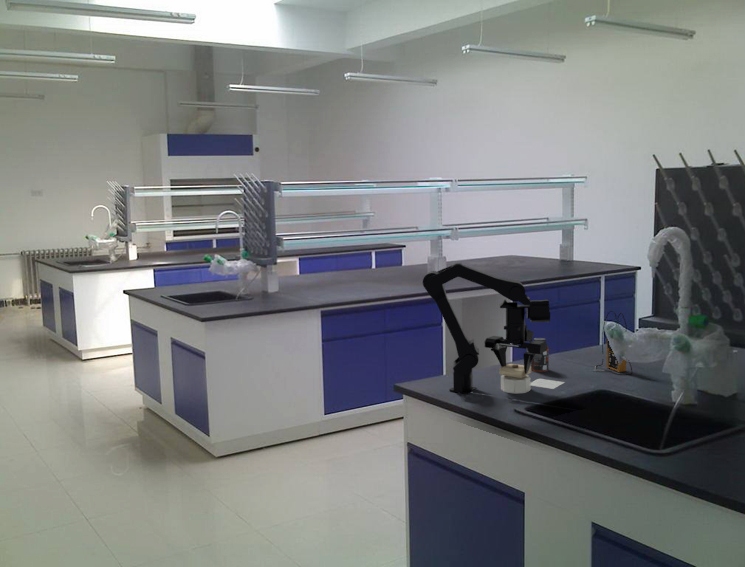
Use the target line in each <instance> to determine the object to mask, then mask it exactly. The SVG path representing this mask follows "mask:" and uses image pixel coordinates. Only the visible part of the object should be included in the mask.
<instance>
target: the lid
mask: <svg viewBox="0 0 745 567" xmlns="http://www.w3.org/2000/svg"><path fill="white" fill-rule="evenodd" d="M498 371H499V372H498V374H499V375H500V376H502V375H505V376H512V377H519V378H521V377H523V376H525V375H529V374H531V373H532V371H531V365H530V368H529V370H528V373H527V374H525V370H524V364H516V363H509V364H506V366H504V367H499V370H498Z"/></svg>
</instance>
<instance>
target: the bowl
mask: <svg viewBox="0 0 745 567" xmlns="http://www.w3.org/2000/svg"><path fill="white" fill-rule="evenodd" d="M530 383H531V376H530V375H529V374H527V375H525V376H523V377H521V378H519V377H512V376H505V375H500V390H501V391H503V393H508V394H526V393H528V392H529V391H531V386H530Z"/></svg>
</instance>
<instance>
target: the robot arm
mask: <svg viewBox="0 0 745 567" xmlns="http://www.w3.org/2000/svg"><path fill="white" fill-rule="evenodd" d="M456 278H461V279H463V280H467V281H468V282H472V283H475V284H477V285H480V286H482V287H486V288H488V289H490V290H493V291H495V292H496V293H498V294H500V295H501V296H502V297H505V298H506V299H503V301H501V303H500V304H499V308H500V309H505V325H504V326H503V330H505V338H504V336H500V335H499V336H498V335H491V336H489V337H486V338H485V339H484V342H483V343H484V345H483V346H484V348H487V349H488V348H489V349H490V351H491V352H493V354H494V355H495V356H496V358H497V360H498V362H499V364H500V366H501V367H504V366H506V365H507V350H508V348H516V349H522V350H523V349H524V350H526V352H523V365H524V370H525V374H527V373H528V370H529V368H530V366H531V362H532V360H533V358H534V356H535V355H536V354H541V353H543V352H545V351H547V346H548V343H547V342H544V341H534V331H532V330H530V329H528V325H527V324H526V321H525V319H527V320H529V321H530V323H550V322H551V310H550V301H549V299H542V300H541V299H540V300H539V299H538V300H537V299H535V300H534V299H533V300H531V298H530V297H529V296H528V295H527V294H526V289H525V286H524V285H523V283H522V282H521V281H519V280H515V279H509V278H505V277H504V278H503V277H497V276H494V275H492V274H488V273H487V272H483V271H481V270H478V269H475V268H473V267H469V266H467V265H465V264H462V263H461V262H455V263H454V264H451V265H449V266H447V267H444V268H442V269H440V270H438V271H437V270H429V271H428V272H426V274H425V275H424V277H423V278H422V285H423V289H425V290H426V292H427V294H428V295H429V296H430V298H431V299H433V301H434V302H435V303H436V306H437V308H438V310H439V312H440V314H441V316H442V318H443V320H444V323H445V325H446V326H447V328H448V331H449V332H450V335H451V337H452V339H453V341H454V343H455V347H456V351H457V352H456V353H457V356H458V357H457V358H456V359H455V360H454V361H453V363H452V364H453V365H452V369H453V372H452V374H453V377H452V378H453V380H452V382H453V383H452V384H453V386H452V387H451V388H449V391H450V392H455V393H459V392H460V394H466V395H467V394H470V393H472V391H474V390H477V387H476V386H474V384H473V383H474V382H473V377H474V376H473V369H474V368H475V367H477V365H478V364H479V355H480V349H479V348H478V347H477V345H476V341H475V339H474V338H471V340H470V339H469V338H468V337H467V335H466V333H465V332H464V330H463V328H462V325H461V323H460V321H459V319H458V317H457V314H456V312H455V311H454V309H453V306H452V305H451V302H450V301H449V297H448V296H447V295H448V294H447V292H446V287H445V284H446V283H448V282H450V281H453V280H454V279H456ZM507 299H508V300H510V301H507ZM518 302H519V303H521V304H518ZM525 310H526V311H525ZM525 313H526V315H525ZM525 317H526V318H525ZM501 367H500V368H501ZM527 375H528V374H527Z"/></svg>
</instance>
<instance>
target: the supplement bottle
mask: <svg viewBox="0 0 745 567" xmlns="http://www.w3.org/2000/svg"><path fill="white" fill-rule="evenodd" d="M533 341H544V342H546V341H547V340H546V338H543V337H535V338H534V337H533ZM546 343H547V342H546ZM549 353H550V351H549V346H548V345H547V351H545V352H543V353H541V354H536V355H535V356H534V358H533V360H532V362H531V365H530V366H531V372H534V373H535V372H536V373H546V372H548V371H549V366H550V365H549V363H550V362H549V356H550V355H549Z"/></svg>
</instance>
